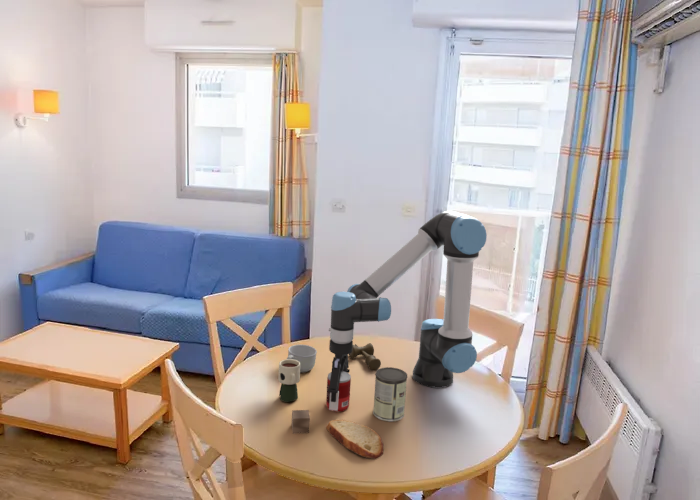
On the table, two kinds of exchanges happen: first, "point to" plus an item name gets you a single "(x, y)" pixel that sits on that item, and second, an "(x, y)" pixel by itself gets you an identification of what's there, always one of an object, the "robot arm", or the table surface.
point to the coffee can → (390, 394)
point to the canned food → (341, 391)
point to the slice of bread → (357, 438)
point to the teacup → (303, 356)
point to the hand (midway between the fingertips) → (337, 400)
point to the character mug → (289, 379)
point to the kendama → (366, 355)
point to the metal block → (300, 421)
